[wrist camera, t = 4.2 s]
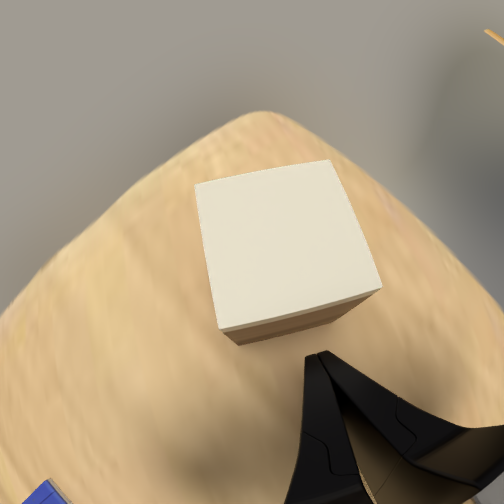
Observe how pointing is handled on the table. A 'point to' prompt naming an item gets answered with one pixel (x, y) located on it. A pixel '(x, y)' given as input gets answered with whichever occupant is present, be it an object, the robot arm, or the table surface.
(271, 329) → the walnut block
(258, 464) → the table surface
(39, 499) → the hard drive
